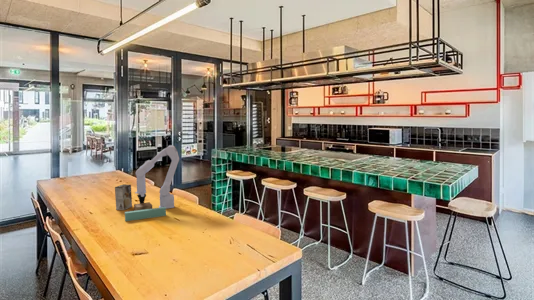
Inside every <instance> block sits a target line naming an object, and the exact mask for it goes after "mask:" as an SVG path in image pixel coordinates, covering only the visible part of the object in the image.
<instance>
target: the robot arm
mask: <svg viewBox="0 0 534 300" xmlns="http://www.w3.org/2000/svg"><path fill="white" fill-rule="evenodd" d="M166 156H167V157H169V158H170V160H171V162H170V165H169V168H168V171H167V173H166V176H165V179H164V181H163V185H162V186H161V187H160V189H159V205H158V208H161V207H165V208H166V210H168V209H173V208H175V196H174V194H172V193H170V190H171V185H172V184H171V183H172V181H173V178H174V175H175V174H176V170H177V167H178V165H179V162H180V156H179V152H178V149H177V148H176V146H175V145H172V144H169V145H168V146H167V147H165V148H163V149H162V150H161V151H159V153H157V154H156V155H155V156H154V157H152V158H151V160H150V159H148V160H145V161H144V163H143V164H142V165H140V166H139V168H138V169H136V171H135V176H136V191H134V193H135V194H136V197H137V198H138V201H139V204H140V203H145V200H146V197H147V194H146V193H147V186H146V173H148V172H149V171H151V169H152V168H154V167H155V164H156V163H157V162H158V161H159V160H160V159H162V158H163V157H166Z"/></svg>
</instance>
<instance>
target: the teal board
mask: <svg viewBox="0 0 534 300" xmlns="http://www.w3.org/2000/svg"><path fill="white" fill-rule="evenodd" d="M166 216H167V209H166V208H165V207H161V208H159V207H154V208H153V207H152V209H145V210H137V211H134V210H128V211H124V222H129V221H137V220H143V219H144V220H145V219H152V218H159V217H166Z"/></svg>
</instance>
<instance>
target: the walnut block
mask: <svg viewBox="0 0 534 300" xmlns="http://www.w3.org/2000/svg"><path fill="white" fill-rule="evenodd" d="M145 209H153V204H152V203H151V202H144V203H140V202H139V203H134V204H133V211H137V210H145Z"/></svg>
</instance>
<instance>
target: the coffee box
mask: <svg viewBox="0 0 534 300" xmlns="http://www.w3.org/2000/svg"><path fill="white" fill-rule="evenodd" d="M114 194H115V196H114V197H115V209H116V211H125V210H129V209H130V208H132V207H133V200H132V199H133V197H132V184H123V183H122V184H120V185H117V186H115V187H114Z"/></svg>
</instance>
